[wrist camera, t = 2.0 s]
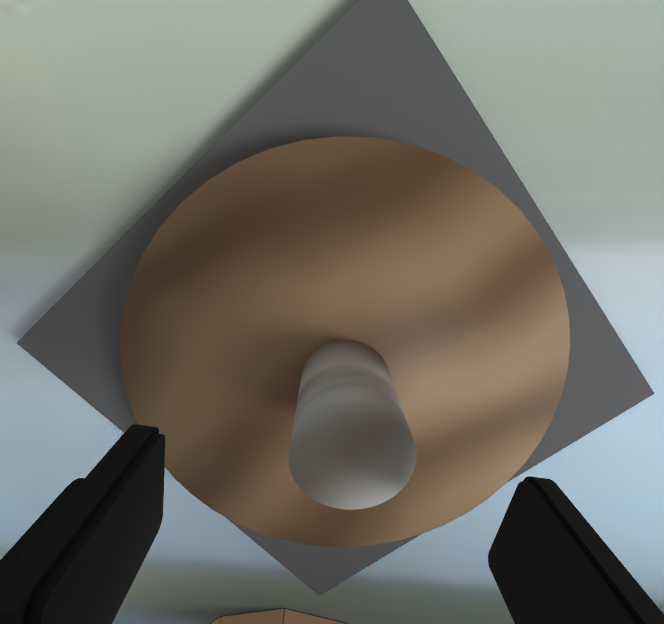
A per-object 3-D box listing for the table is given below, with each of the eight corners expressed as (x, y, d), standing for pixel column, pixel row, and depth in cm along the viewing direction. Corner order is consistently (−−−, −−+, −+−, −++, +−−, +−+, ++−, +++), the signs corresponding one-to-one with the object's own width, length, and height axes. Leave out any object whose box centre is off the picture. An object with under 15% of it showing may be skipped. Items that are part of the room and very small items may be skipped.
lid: (626, 390, 17) (785, 489, 11) (321, 578, 21) (318, 728, 15) (382, 18, 12) (431, -155, 6) (46, 346, 16) (-118, 427, 10)
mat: (643, 387, 18) (654, 393, 17) (319, 585, 22) (319, 595, 21) (385, -20, 13) (388, -31, 12) (27, 338, 17) (16, 342, 16)
